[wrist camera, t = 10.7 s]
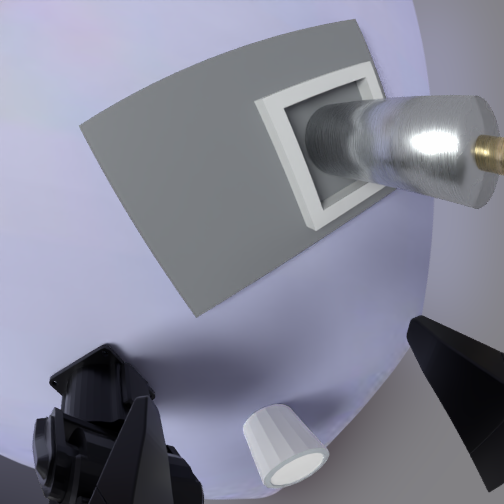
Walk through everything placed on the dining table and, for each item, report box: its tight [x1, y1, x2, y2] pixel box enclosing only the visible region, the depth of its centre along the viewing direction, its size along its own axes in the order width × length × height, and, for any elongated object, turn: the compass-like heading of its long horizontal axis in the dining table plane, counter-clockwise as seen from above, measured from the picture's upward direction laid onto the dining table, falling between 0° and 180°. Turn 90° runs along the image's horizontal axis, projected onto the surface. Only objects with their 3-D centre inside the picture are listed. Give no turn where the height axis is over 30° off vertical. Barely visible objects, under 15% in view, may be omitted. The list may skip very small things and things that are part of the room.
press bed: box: [79, 19, 397, 318], centre depth 19 cm, size 20×14×3 cm
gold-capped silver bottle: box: [305, 95, 504, 209], centre depth 14 cm, size 5×5×14 cm
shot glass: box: [243, 404, 329, 489], centre depth 26 cm, size 7×7×7 cm
